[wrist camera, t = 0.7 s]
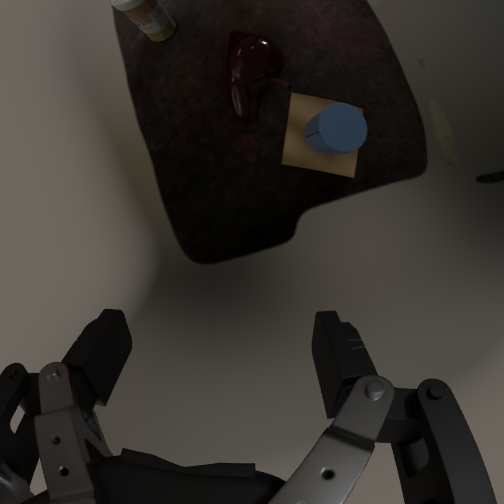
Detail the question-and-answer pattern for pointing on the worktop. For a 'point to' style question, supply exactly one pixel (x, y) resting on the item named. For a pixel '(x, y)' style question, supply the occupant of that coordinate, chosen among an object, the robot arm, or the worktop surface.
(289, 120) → the dowel stand
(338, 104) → the blue sleeve
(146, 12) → the sprinkles bottle
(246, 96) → the dark red glossy lump
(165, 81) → the worktop surface
